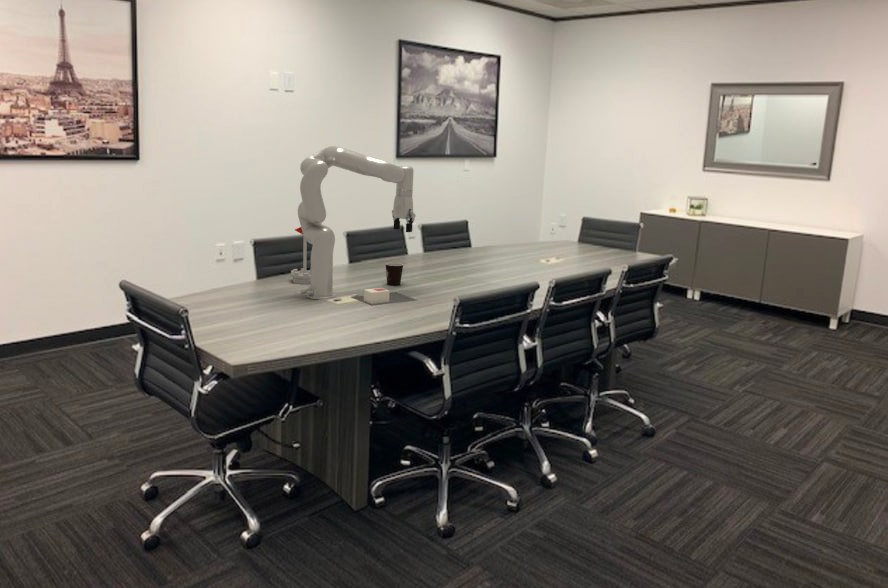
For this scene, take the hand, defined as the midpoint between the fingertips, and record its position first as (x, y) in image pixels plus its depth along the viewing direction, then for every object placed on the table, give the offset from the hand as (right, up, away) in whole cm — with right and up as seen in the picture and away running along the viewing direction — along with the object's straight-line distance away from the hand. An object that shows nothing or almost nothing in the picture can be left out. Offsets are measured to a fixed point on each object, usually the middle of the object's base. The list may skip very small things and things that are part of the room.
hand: (402, 230), depth 335 cm
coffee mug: (-5, -24, +20) cm, 32 cm away
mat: (-7, -32, -15) cm, 36 cm away
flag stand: (-48, -24, +15) cm, 56 cm away
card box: (-10, -33, -21) cm, 40 cm away
